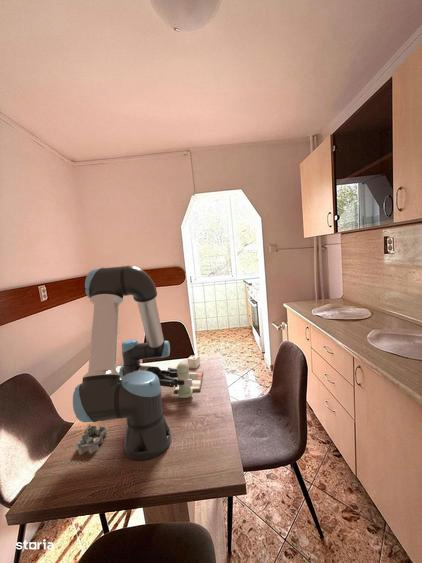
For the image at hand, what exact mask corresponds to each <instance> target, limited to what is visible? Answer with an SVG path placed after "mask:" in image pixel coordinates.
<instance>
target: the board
mask: <svg viewBox="0 0 422 563" xmlns="http://www.w3.org/2000/svg"><path fill="white" fill-rule="evenodd" d="M189 373H198V380H192V386H190V387H191V389H192V391H193V393H194V392H195V393H197V392H198V393H199V392H201V389H202V384H203V380H204V379H203V377H204V371H192V372H190V371H189ZM177 386H178V387H175V386H174V390H173V393H174V394H178V391H179V385H177Z"/></svg>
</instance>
